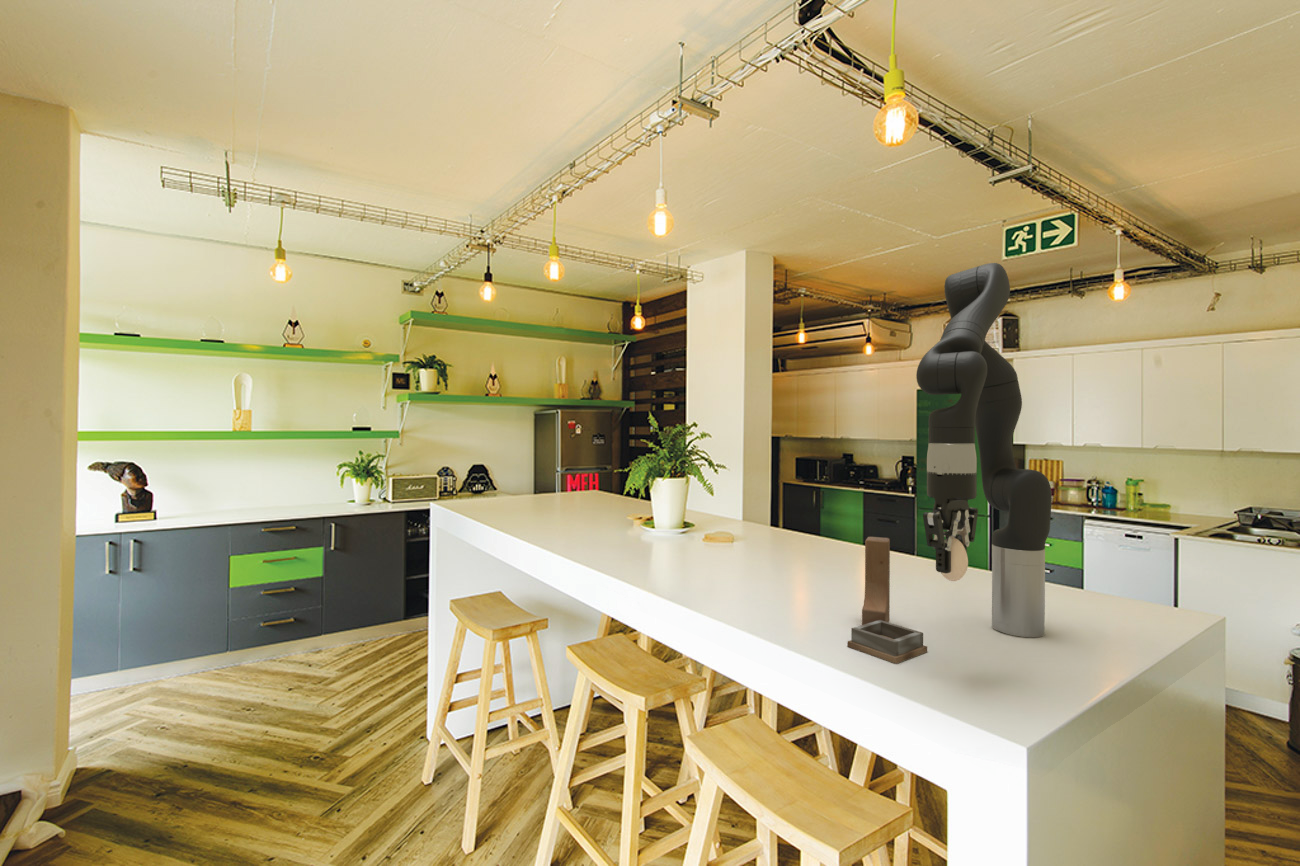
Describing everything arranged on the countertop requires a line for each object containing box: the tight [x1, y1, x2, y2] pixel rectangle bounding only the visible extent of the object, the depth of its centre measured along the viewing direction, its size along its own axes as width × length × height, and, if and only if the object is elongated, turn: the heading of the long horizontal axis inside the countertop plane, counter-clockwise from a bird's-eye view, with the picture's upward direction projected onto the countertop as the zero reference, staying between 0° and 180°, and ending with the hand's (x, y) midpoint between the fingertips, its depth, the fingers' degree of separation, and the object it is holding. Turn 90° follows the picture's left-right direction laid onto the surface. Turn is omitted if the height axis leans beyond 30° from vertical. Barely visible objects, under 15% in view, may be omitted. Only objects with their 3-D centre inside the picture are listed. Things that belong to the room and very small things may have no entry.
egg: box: [940, 538, 969, 582], centre depth 99 cm, size 5×5×7 cm
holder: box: [846, 620, 928, 665], centre depth 109 cm, size 10×10×4 cm
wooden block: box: [861, 536, 891, 625], centre depth 122 cm, size 9×4×18 cm, turn 152°
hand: (951, 569), depth 99 cm, fingers closed on egg, 4 cm apart
